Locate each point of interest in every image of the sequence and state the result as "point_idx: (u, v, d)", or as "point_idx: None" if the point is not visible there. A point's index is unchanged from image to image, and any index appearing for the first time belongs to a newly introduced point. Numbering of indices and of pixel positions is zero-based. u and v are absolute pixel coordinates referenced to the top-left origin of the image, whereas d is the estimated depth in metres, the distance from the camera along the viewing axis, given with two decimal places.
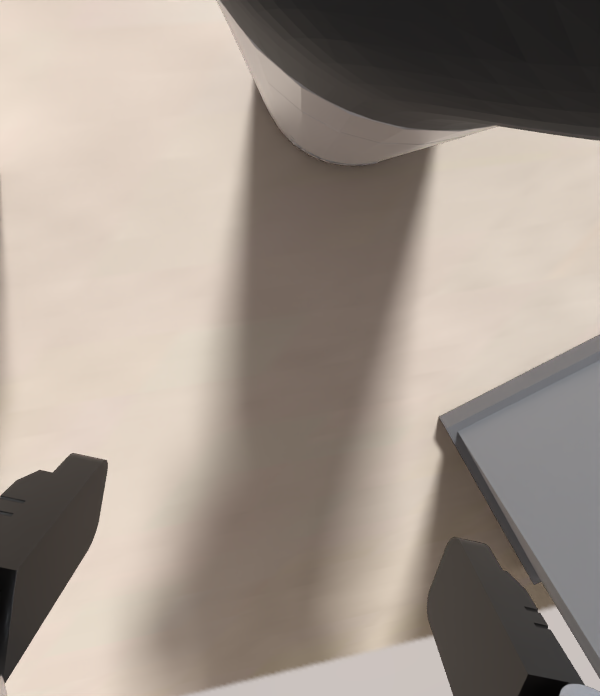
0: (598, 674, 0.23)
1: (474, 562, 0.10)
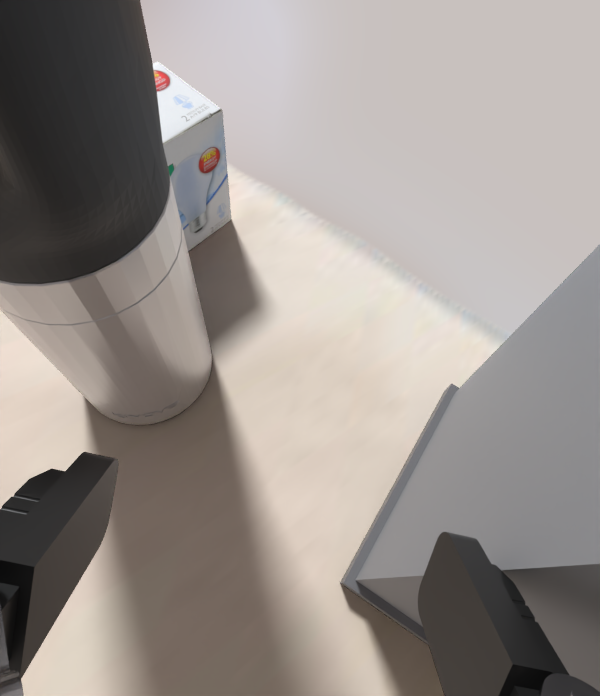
0: None
1: (463, 556, 0.10)
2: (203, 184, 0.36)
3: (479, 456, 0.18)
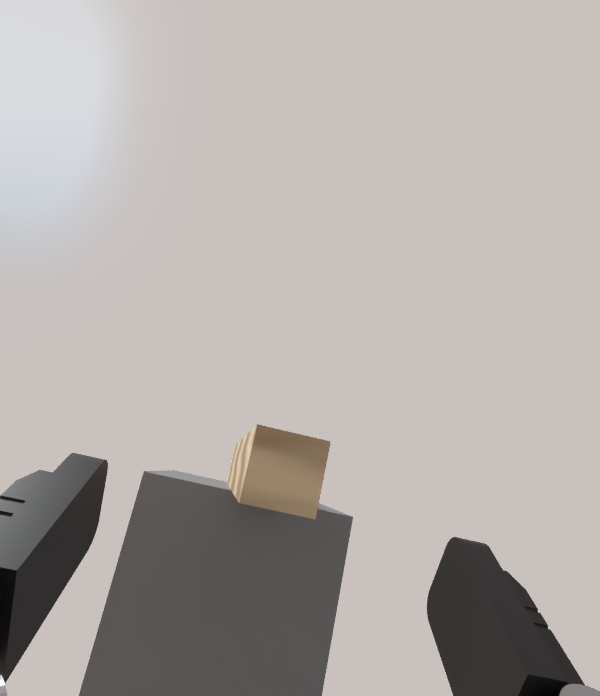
0: None
1: (474, 562, 0.10)
2: None
3: None
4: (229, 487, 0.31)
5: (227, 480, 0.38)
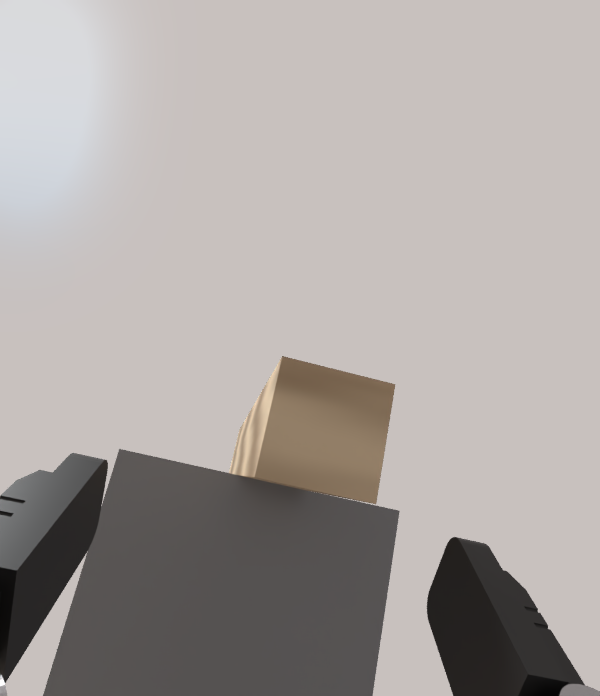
0: None
1: (474, 562, 0.10)
2: None
3: None
4: None
5: (230, 470, 0.31)
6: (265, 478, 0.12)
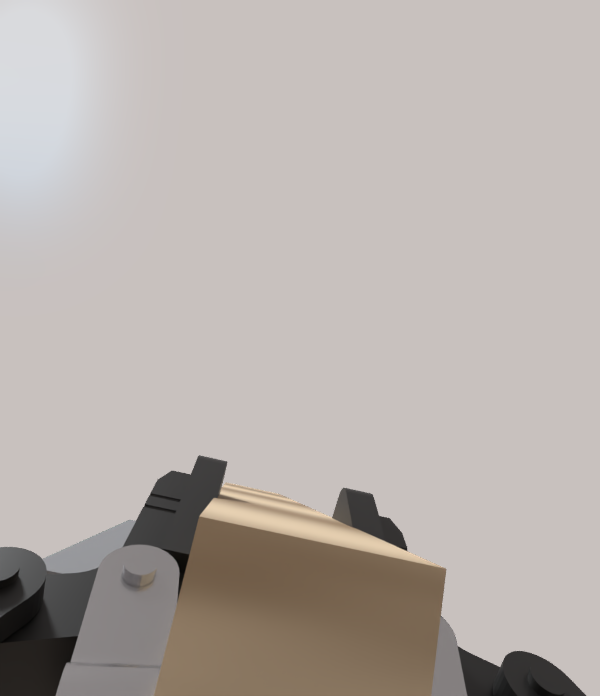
0: None
1: (352, 507, 0.11)
2: None
3: None
4: None
5: None
6: None
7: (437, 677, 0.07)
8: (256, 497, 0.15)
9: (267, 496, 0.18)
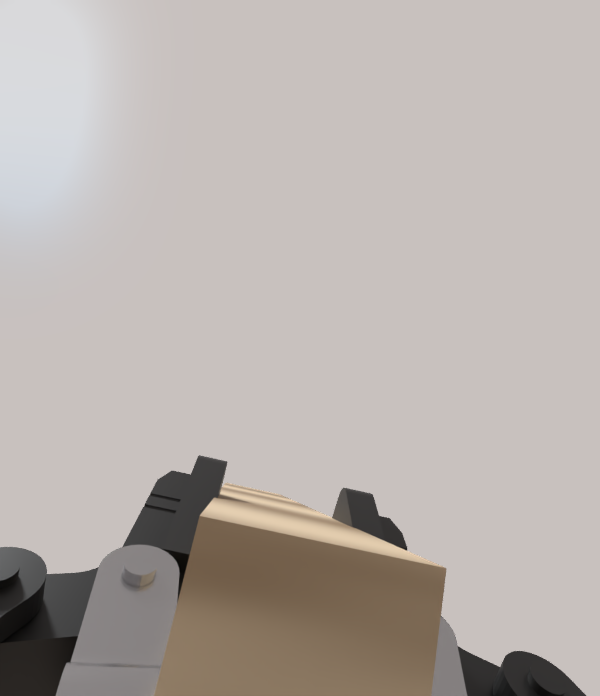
0: None
1: (352, 507, 0.11)
2: None
3: None
4: None
5: None
6: None
7: (437, 677, 0.07)
8: (256, 497, 0.15)
9: (267, 496, 0.18)
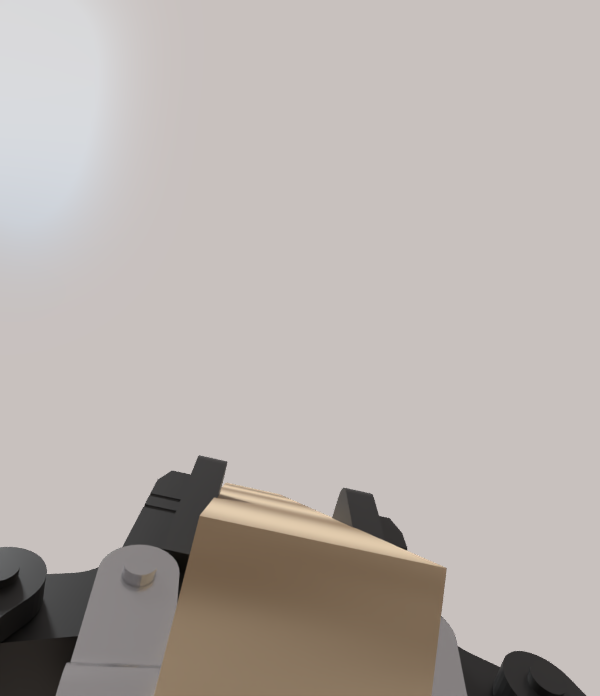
0: None
1: (352, 506, 0.11)
2: None
3: None
4: None
5: None
6: None
7: (437, 677, 0.07)
8: (256, 497, 0.15)
9: (267, 496, 0.18)
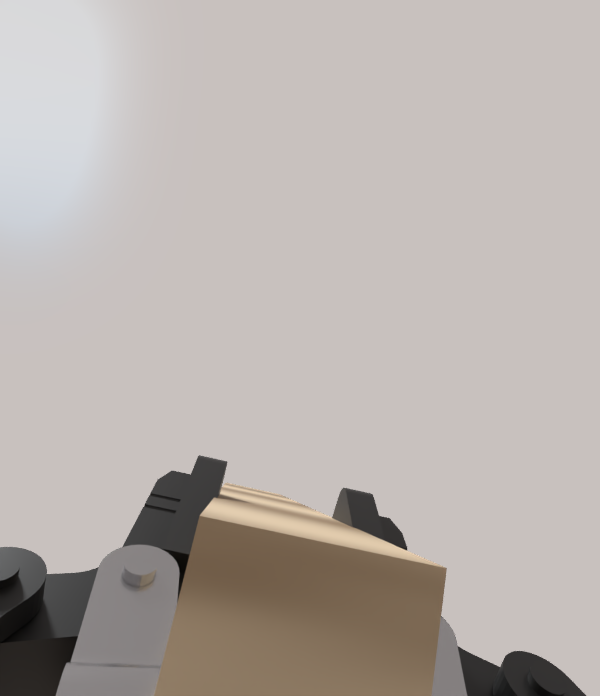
0: None
1: (352, 507, 0.11)
2: None
3: None
4: None
5: None
6: None
7: (437, 677, 0.07)
8: (256, 497, 0.15)
9: (267, 496, 0.18)
